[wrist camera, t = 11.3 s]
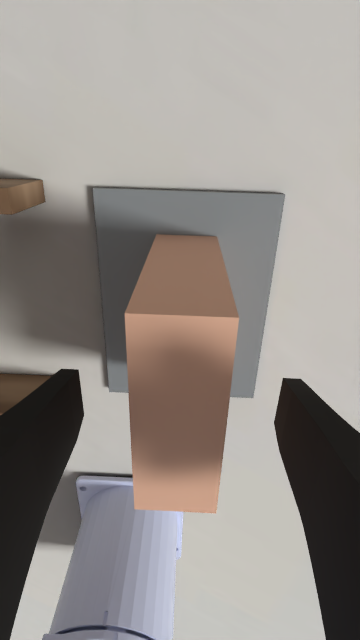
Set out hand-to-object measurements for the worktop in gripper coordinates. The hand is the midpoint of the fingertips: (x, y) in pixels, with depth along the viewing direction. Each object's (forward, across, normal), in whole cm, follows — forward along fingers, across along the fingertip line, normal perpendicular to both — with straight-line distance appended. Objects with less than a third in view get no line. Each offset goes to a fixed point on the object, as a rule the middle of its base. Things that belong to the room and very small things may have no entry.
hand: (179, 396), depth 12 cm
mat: (+8, 0, 0) cm, 8 cm away
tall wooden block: (+7, 0, 0) cm, 7 cm away
